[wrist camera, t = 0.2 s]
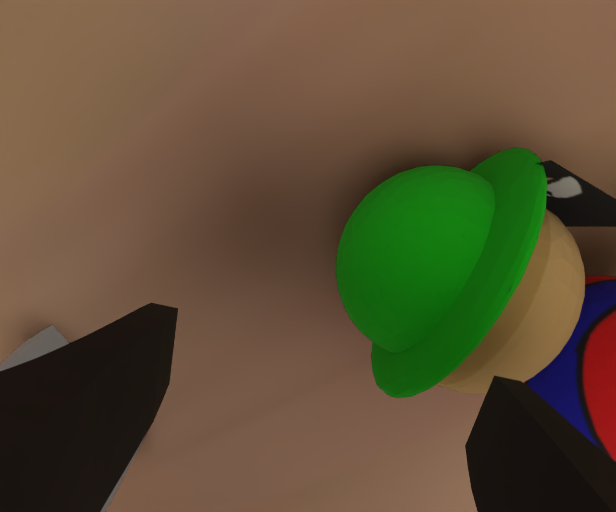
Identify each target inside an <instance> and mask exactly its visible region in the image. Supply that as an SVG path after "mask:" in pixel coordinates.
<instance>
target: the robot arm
mask: <svg viewBox="0 0 616 512" xmlns="http://www.w3.org/2000/svg"><path fill="white" fill-rule="evenodd" d="M177 312H178V308H173V307H169V306H164V305H159V304H154V303H150V304H147V305H145V306H143V307H141V308H139V309H137V310H135V311H133V312H132V313H130V314H128V315H126V316H124V317H122V318H120V319H118V320H116V321H114V322H112V323H110V324H108V325H107V326H105V327H103V328H101V329H99V330H97V331H95V332H93V333H91V334H89V335H87V336H85V337H83V338H80V339H78V340H76V341H74V342H71V343H69V344H67V345H65V346H62V347H60V348H58V349H56V350H54V351H51V352H49V353H47V354H45V355H42V356H40V357H37V358H35V359H32V360H30V361H27V362H25V363H22V364H19V365H17V366H14V367H11V368H8V369H5V370H2V371H0V512H101V510H102V508H103V506H104V505H105V503H106V501H107V500H108V498H109V496H110V495H111V493H112V491H113V489H114V488H115V486H116V484H117V483H118V481H119V479H120V478H121V476H122V474H123V473H124V471H125V469H126V467H127V466H128V464H129V462H130V461H131V459H132V457H133V456H134V454H135V452H136V450H137V449H138V447H139V445H140V444H141V442H142V440H143V438H144V437H145V435H146V433H147V432H148V430H149V428H150V426H151V425H152V423H153V421H154V418H155V416H156V414H157V412H158V409H159V407H160V405H161V402H162V400H163V397H164V395H165V393H166V390H167V388H168V385H169V381H170V373H171V364H172V355H173V347H174V338H175V329H176V321H177ZM465 447H466V455H467V463H468V471H469V477H470V483H471V489H472V493H473V496H474V500H475V504H476V507H477V511H478V512H616V462H614V461H613V460H612V459H611V458H610V457H608V456H607V455H606V454H605V453H604V452H603V451H601V450H600V449H599V448H598V447H597V446H596V445H595V444H593V443H592V442H591V441H590V440H589V439H588V438H587V437H585V436H584V435H583V434H582V433H581V432H580V431H579V430H578V429H576V428H575V427H574V426H573V425H572V424H571V423H570V422H569V421H568V420H566V419H565V418H564V417H563V416H562V415H561V414H560V413H559V412H557V411H556V410H555V409H554V408H553V407H552V406H551V405H550V404H549V403H547V402H546V401H545V400H544V399H543V398H542V397H540V396H539V395H538V394H537V393H536V392H535V391H533V390H532V389H531V388H530V387H528V386H527V385H526V384H524V383H523V382H521V381H518V380H513V379H509V378H504V377H499V376H495V375H494V377H493V379H492V382H491V384H490V387H489V389H488V392H487V394H486V397H485V399H484V401H483V404H482V406H481V409H480V411H479V414H478V416H477V419H476V421H475V423H474V426H473V428H472V431H471V433H470V436H469V438H468V441H467V443H466V445H465Z"/></svg>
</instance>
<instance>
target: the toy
mask: <svg viewBox="0 0 616 512" xmlns="http://www.w3.org/2000/svg"><path fill="white" fill-rule="evenodd" d="M565 226H616V199H614V198H613V197H611V196H609V195H608V194H606V193H604V192H603V191H601V190H599V189H598V188H596V187H594V186H593V185H591V184H589V183H588V182H586V181H584V180H583V179H581V178H579V177H578V176H576V175H574V174H573V173H571V172H569V171H568V170H566V169H565V168H563V167H561V166H560V165H558V164H556V163H555V162H553V161H551V160H550V161H545V162H541V160H540V159H539V158H538V156H537V155H535V154H534V153H532V152H531V151H530V150H528V149H523V148H516V147H515V148H511V149H508V150H504V151H500V152H498V153H496V154H494V155H493V156H491V157H489V158H488V159H486V160H484V161H482V162H481V163H479V164H478V165H477V166H475V167H474V168H473V169H472V170H470V171H466V170H463V169H460V168H456V167H451V166H438V165H430V166H422V167H416V168H413V169H410V170H407V171H404V172H400V173H398V174H396V175H394V176H392V177H391V178H389V179H387V180H385V181H384V182H382V183H380V184H379V185H378V186H377V187H376V188H374V189H373V190H372V191H371V192H370V193H369V194H367V195H366V196H365V197H364V199H363V200H362V201H361V203H360V204H359V205H358V206H357V208H356V209H355V210H354V212H353V213H352V215H351V217H350V218H349V220H348V222H347V223H346V225H345V228H344V231H343V233H342V236H341V239H340V241H339V246H338V251H337V256H336V278H337V285H338V290H339V293H340V297H341V300H342V303H343V305H344V307H345V309H346V311H347V313H348V315H349V317H350V319H351V320H352V321H353V323H354V324H355V325H356V327H357V328H358V329H359V331H360V332H362V333H363V334H364V335H365V336H366V337H367V338H369V339H370V340H371V341H372V342H373V343H372V352H371V360H372V371H373V374H374V377H375V380H376V383H377V385H378V386H379V388H380V389H381V390H383V391H384V392H385V393H386V394H387V395H389V396H391V397H394V398H403V397H411V396H414V395H416V394H418V393H420V392H423V391H425V390H428V389H430V388H431V387H433V386H434V385H436V384H437V385H439V386H441V387H444V388H448V389H451V390H455V391H459V392H463V393H467V394H482V393H487V392H488V389H489V387H490V384H491V382H492V379H493V377H494V375H495V376H499V377H504V378H509V379H513V380H518V381H521V382H523V383H524V384H526V385H527V386H528V387H530V388H531V389H532V390H533V391H535V392H536V393H537V394H538V395H539V396H540V397H542V398H543V399H544V400H545V401H546V402H547V403H549V404H550V405H551V406H552V407H553V408H554V409H555V410H556V411H557V412H559V413H560V414H561V415H562V416H563V417H564V418H565V419H566V420H568V421H569V422H570V423H571V424H572V425H573V426H574V427H575V428H576V429H578V430H579V431H580V432H581V433H582V434H583V435H584V436H585V437H587V438H588V439H589V440H590V441H591V442H592V443H593V444H595V445H596V446H597V447H598V448H599V449H600V450H601V451H603V452H604V453H605V454H606V455H607V456H608V457H610V458H611V459H612V460H613V461H614V462H616V277H611V276H586V277H585V272H584V265H583V262H582V258H581V255H580V251H579V248H578V246H577V244H576V242H575V240H574V238H573V236H572V235H571V233H570V232H569V231H568V229H567V228H566V227H565Z"/></svg>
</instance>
